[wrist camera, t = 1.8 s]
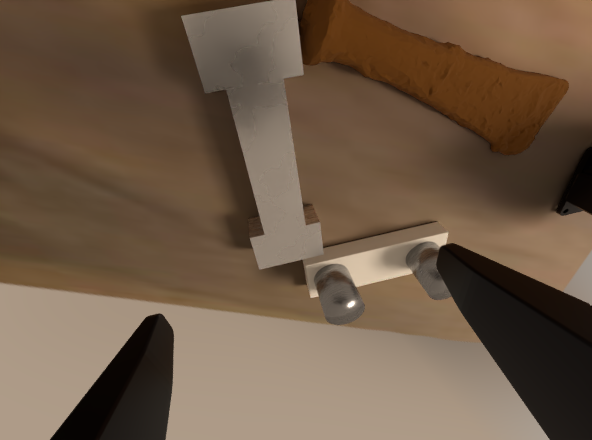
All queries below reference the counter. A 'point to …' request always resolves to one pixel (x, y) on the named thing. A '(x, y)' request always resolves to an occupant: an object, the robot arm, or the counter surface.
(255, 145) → the spanner
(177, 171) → the counter surface
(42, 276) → the counter surface
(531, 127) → the primitive tool
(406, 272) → the peg rack
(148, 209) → the counter surface
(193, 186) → the counter surface
